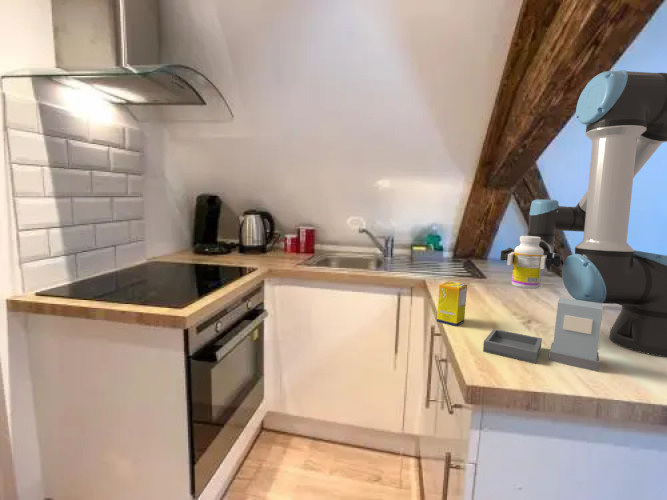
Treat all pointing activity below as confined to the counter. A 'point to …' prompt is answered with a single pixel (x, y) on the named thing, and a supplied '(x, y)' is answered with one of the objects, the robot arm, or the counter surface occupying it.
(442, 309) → the supplement box
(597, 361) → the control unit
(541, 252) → the supplement bottle
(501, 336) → the tray
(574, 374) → the counter surface
